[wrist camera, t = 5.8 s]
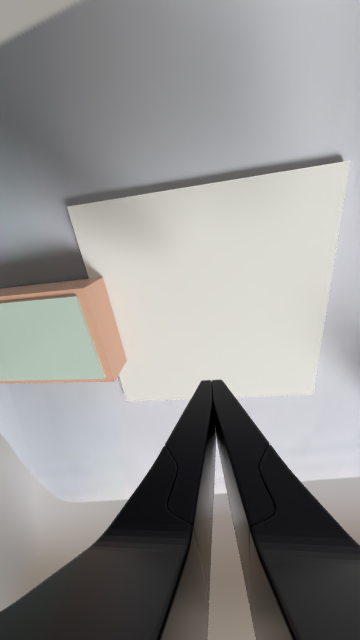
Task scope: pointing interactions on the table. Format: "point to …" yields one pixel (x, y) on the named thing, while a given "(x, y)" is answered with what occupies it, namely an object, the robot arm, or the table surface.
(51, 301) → the tile
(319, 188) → the mat
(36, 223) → the table surface
